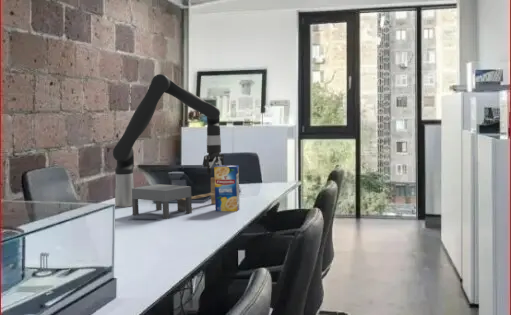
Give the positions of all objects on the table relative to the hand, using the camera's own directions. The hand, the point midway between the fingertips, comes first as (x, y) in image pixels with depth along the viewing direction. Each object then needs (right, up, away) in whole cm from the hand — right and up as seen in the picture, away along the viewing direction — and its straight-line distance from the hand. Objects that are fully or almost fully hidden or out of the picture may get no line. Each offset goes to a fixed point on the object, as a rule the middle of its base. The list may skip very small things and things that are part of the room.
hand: (214, 174), depth 309 cm
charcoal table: (-23, -18, -29) cm, 41 cm away
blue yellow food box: (+8, -17, -21) cm, 29 cm away
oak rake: (-7, -17, -9) cm, 20 cm away
